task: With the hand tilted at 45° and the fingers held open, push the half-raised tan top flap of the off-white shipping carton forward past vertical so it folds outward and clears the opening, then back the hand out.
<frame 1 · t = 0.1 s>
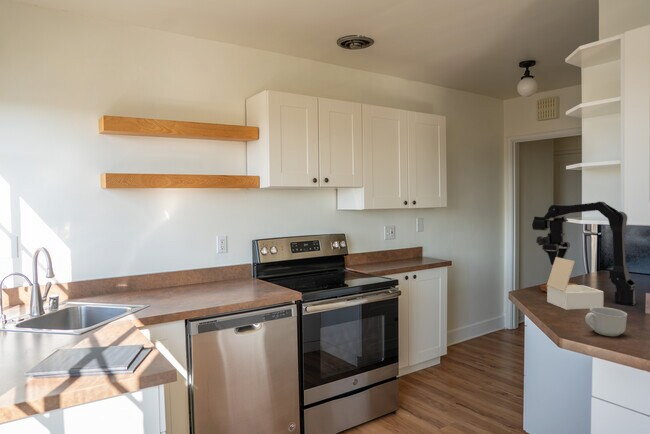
hand: (556, 263, 214), 15 cm above the worktop, tool pointing down, fingers open, 9 cm apart
teacup: (603, 334, 152), on the worktop
carton: (574, 305, 193), on the worktop
croissant: (564, 294, 216), on the worktop
flap: (560, 273, 192), point 14 cm above the worktop, hinge at 72.0°
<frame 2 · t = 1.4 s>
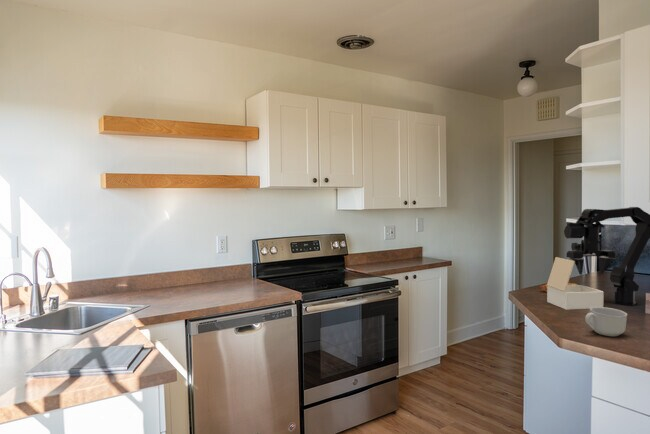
hand: (590, 274, 194), 13 cm above the worktop, tool pointing down, fingers open, 9 cm apart
nothing on the worktop moved.
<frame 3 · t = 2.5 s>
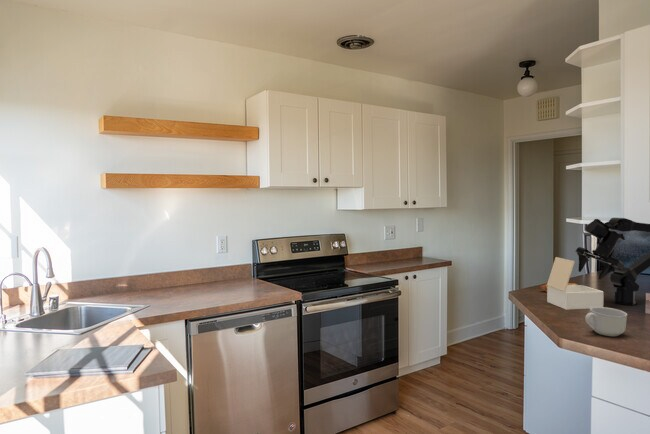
hand: (589, 275, 193), 13 cm above the worktop, tool tilted 30°, fingers open, 9 cm apart
nothing on the worktop moved.
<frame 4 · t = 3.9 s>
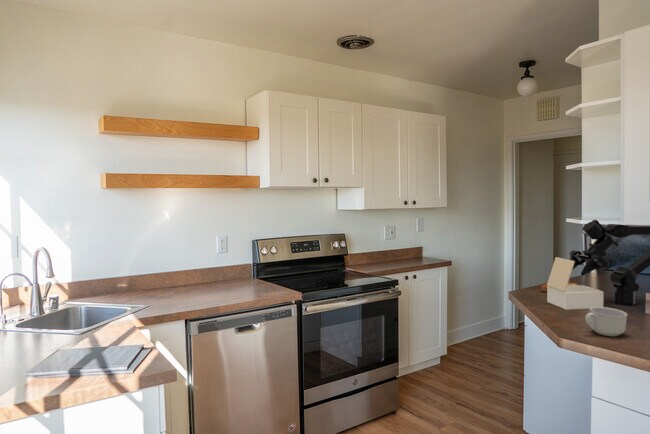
hand: (574, 273, 193), 14 cm above the worktop, tool tilted 45°, fingers open, 9 cm apart
nothing on the worktop moved.
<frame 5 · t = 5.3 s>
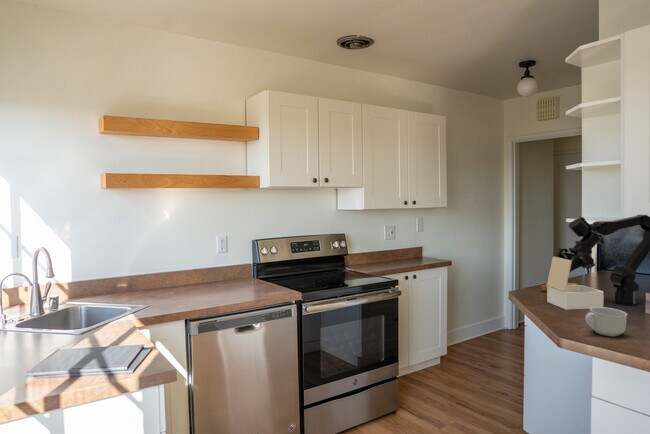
hand: (560, 270, 192), 15 cm above the worktop, tool tilted 45°
flap: (558, 273, 192), point 14 cm above the worktop, hinge at 78.0°, touching gripper
everything else where it was.
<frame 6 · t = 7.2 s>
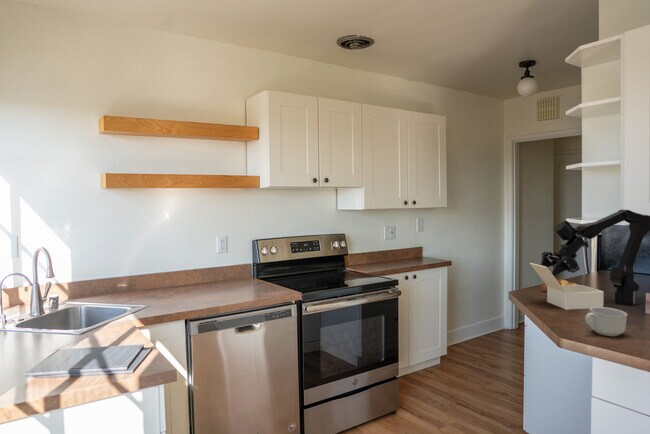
hand: (545, 274, 192), 14 cm above the worktop, tool tilted 45°
flap: (546, 276, 192), point 12 cm above the worktop, hinge at 127.7°, touching gripper
everything else where it was.
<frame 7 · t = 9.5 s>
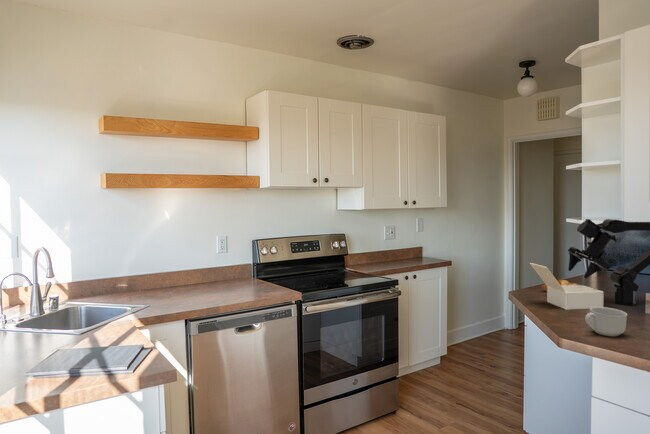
hand: (576, 274, 196), 13 cm above the worktop, tool tilted 35°, fingers open, 9 cm apart
flap: (546, 276, 192), point 12 cm above the worktop, hinge at 127.8°
everything else where it was.
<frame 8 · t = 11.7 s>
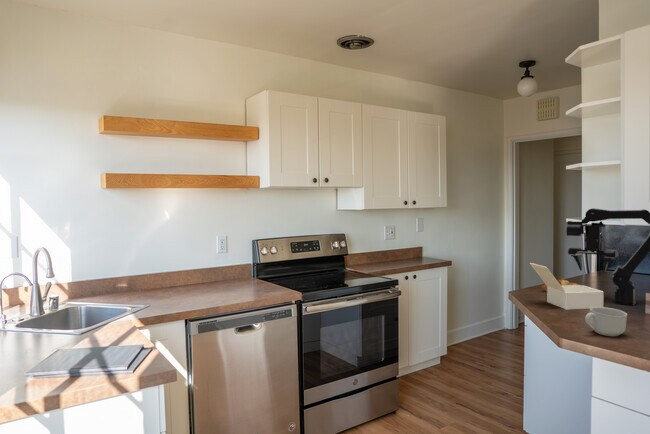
hand: (592, 271, 201), 13 cm above the worktop, tool pointing down, fingers open, 9 cm apart
at the end: flap at +128° (first picture: +72°) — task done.
